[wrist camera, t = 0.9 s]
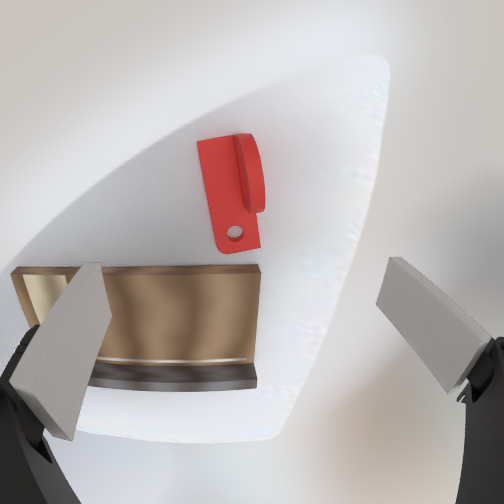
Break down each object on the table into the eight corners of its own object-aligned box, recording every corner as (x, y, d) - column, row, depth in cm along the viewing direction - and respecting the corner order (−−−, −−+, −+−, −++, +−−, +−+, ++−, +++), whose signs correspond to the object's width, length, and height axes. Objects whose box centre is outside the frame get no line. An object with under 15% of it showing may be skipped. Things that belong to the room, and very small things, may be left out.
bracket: (197, 141, 25) (193, 144, 18) (242, 133, 25) (257, 133, 18) (218, 251, 30) (223, 290, 23) (258, 243, 31) (276, 279, 23)
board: (52, 355, 33) (42, 377, 28) (17, 266, 26) (-2, 285, 22) (250, 362, 38) (256, 388, 33) (257, 264, 31) (266, 287, 27)
